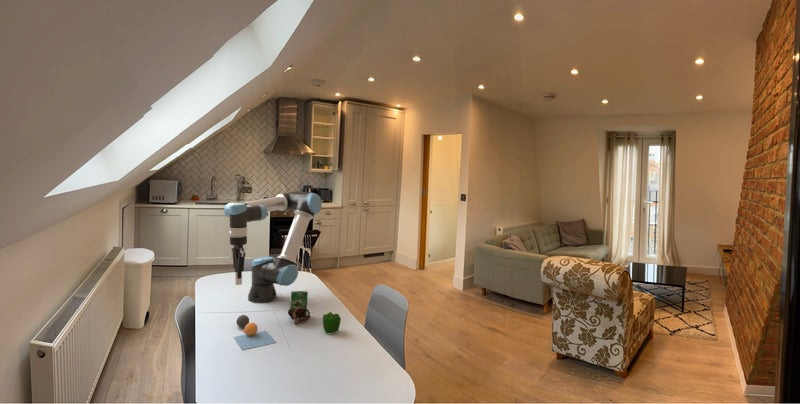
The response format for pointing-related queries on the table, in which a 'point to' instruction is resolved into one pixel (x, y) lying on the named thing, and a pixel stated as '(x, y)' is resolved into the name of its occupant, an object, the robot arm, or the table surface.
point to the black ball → (242, 320)
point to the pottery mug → (299, 315)
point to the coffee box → (298, 300)
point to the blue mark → (254, 340)
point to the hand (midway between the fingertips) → (238, 284)
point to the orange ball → (251, 329)
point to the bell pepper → (331, 322)
